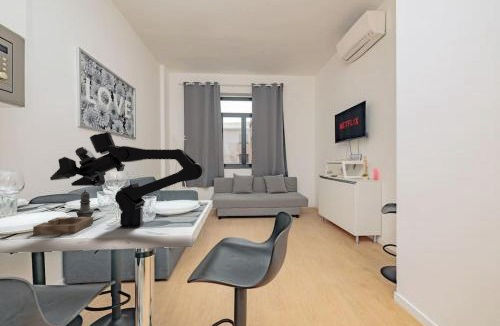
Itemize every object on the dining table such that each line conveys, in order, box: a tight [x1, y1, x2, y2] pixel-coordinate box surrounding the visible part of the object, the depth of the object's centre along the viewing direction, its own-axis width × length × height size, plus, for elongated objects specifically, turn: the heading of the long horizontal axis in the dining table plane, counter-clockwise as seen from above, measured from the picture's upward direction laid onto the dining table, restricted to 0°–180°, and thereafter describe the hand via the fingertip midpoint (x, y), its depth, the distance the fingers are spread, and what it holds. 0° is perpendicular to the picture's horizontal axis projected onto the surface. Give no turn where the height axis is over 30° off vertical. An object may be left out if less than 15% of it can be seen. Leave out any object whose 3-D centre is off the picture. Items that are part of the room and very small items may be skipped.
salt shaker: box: [75, 189, 95, 217], centre depth 95 cm, size 6×6×12 cm
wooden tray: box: [32, 216, 94, 236], centre depth 84 cm, size 12×12×2 cm
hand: (61, 181), depth 88 cm, fingers open, 9 cm apart
